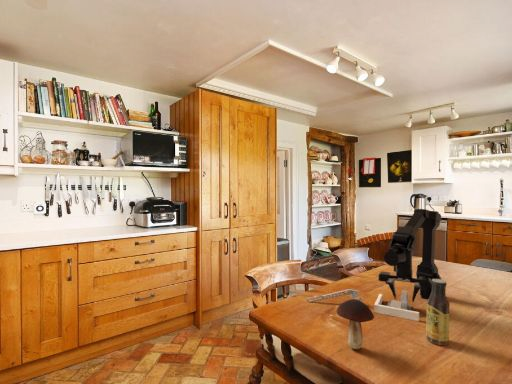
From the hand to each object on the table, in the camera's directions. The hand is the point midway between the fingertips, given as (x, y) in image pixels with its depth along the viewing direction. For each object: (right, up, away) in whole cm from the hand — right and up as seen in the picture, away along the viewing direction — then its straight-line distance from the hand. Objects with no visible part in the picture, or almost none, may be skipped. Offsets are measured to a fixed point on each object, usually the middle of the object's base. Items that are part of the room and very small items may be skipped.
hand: (404, 300), depth 115 cm
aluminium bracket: (-2, -4, +1) cm, 4 cm away
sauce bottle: (-2, -4, -25) cm, 25 cm away
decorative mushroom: (-30, -4, -28) cm, 42 cm away
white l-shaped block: (-3, -4, 0) cm, 5 cm away
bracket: (-27, -4, +7) cm, 28 cm away
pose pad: (-2, -4, +1) cm, 4 cm away
